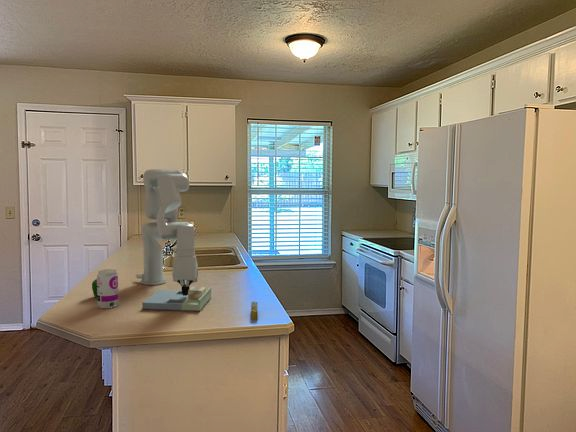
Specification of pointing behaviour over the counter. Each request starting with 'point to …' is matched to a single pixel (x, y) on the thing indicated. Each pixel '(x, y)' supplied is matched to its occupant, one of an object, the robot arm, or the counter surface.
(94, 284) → the bell pepper
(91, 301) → the counter surface
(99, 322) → the counter surface
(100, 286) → the supplement can
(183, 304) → the slate trap deck
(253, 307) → the medication box
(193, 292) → the maple block
